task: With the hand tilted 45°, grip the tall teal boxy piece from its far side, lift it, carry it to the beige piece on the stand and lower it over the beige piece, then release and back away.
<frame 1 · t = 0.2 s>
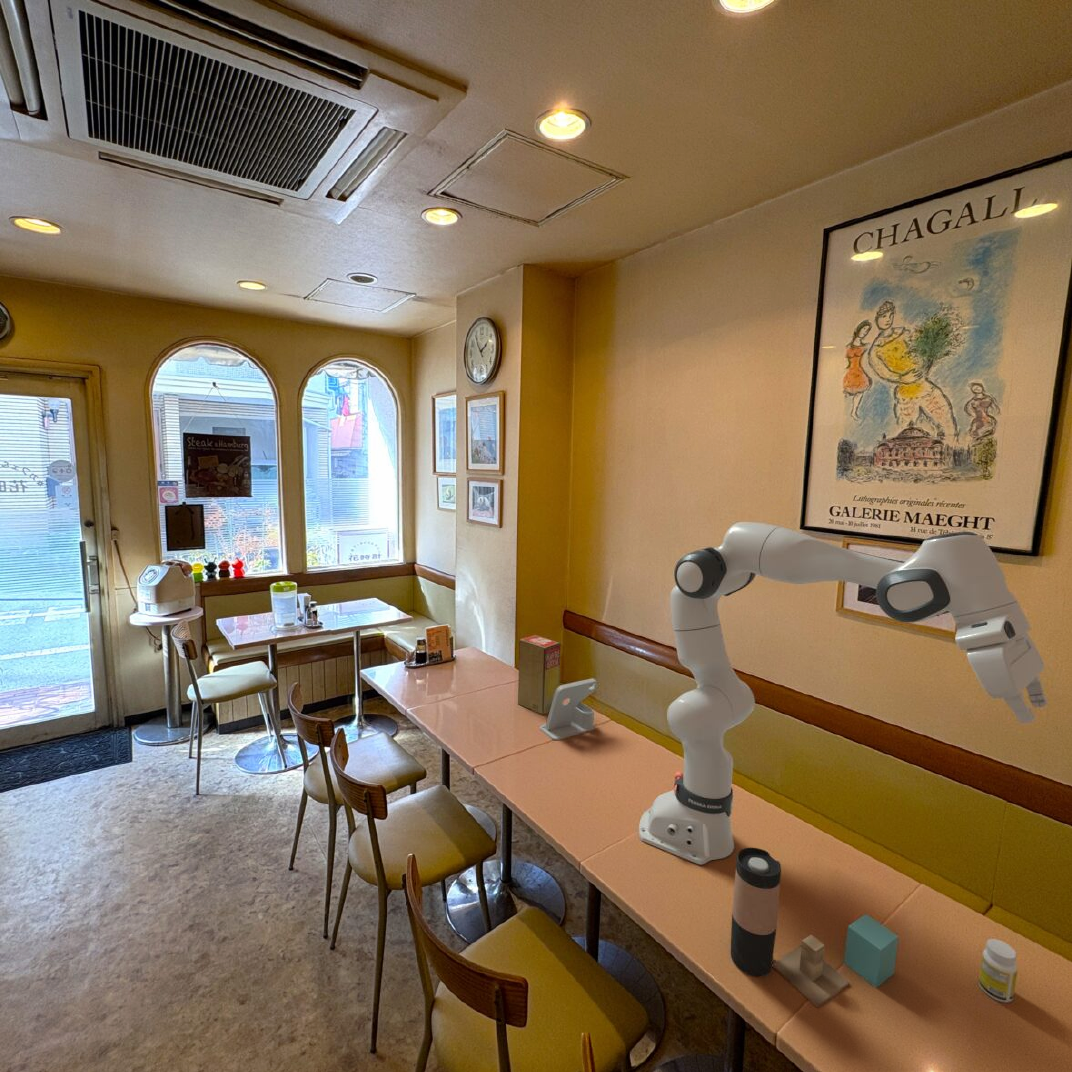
hand: (1034, 713, 87), 54 cm above the table, tool tilted 30°, fingers open, 8 cm apart
phone holder: (567, 729, 193), on the table
teal boxy piece: (868, 968, 104), on the table
food packaging: (538, 706, 210), on the table
travel mug: (750, 960, 105), on the table
beige piece: (810, 975, 102), on the table
supplement bottle: (995, 991, 100), on the table
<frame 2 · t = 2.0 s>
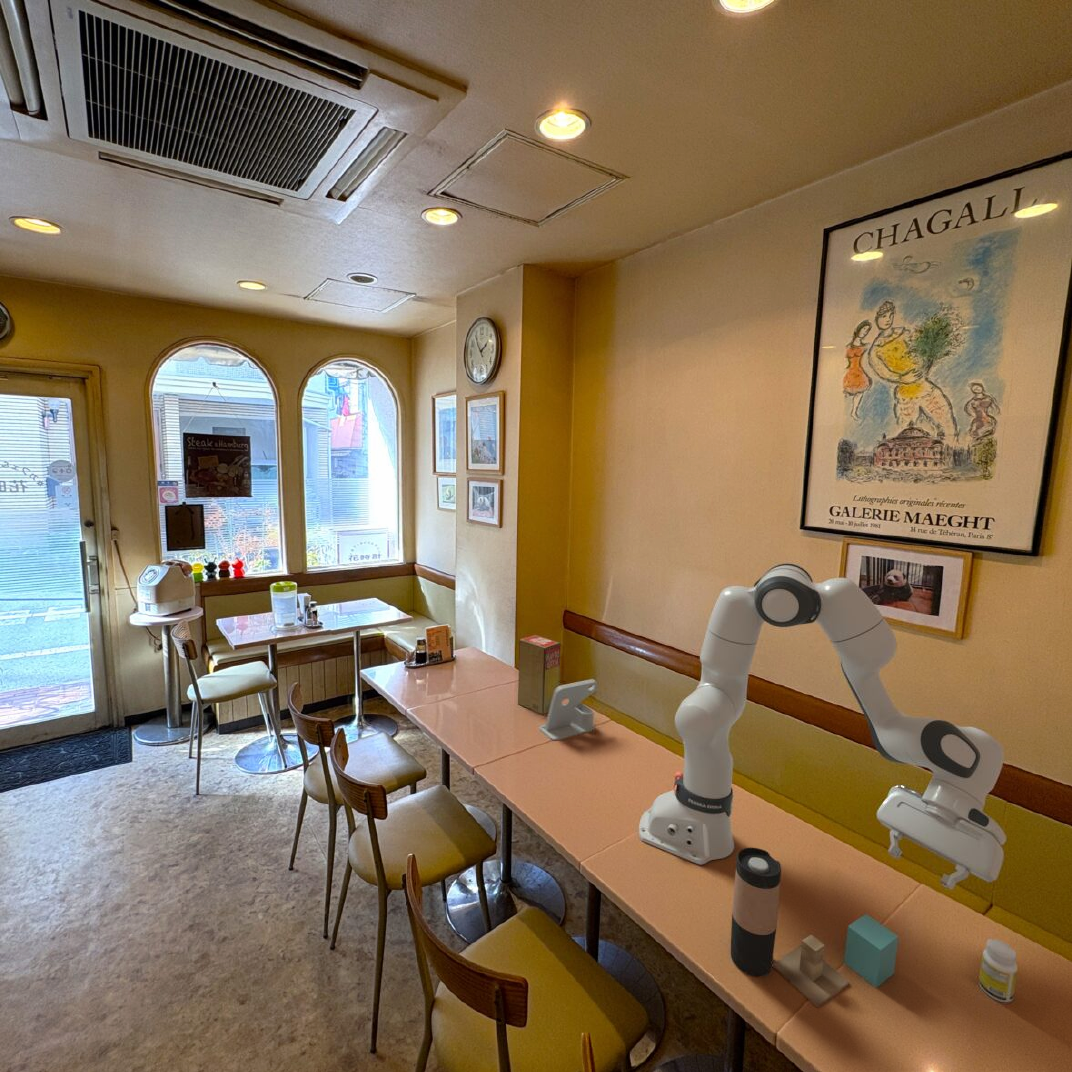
hand: (918, 870, 107), 15 cm above the table, tool tilted 45°, fingers open, 8 cm apart
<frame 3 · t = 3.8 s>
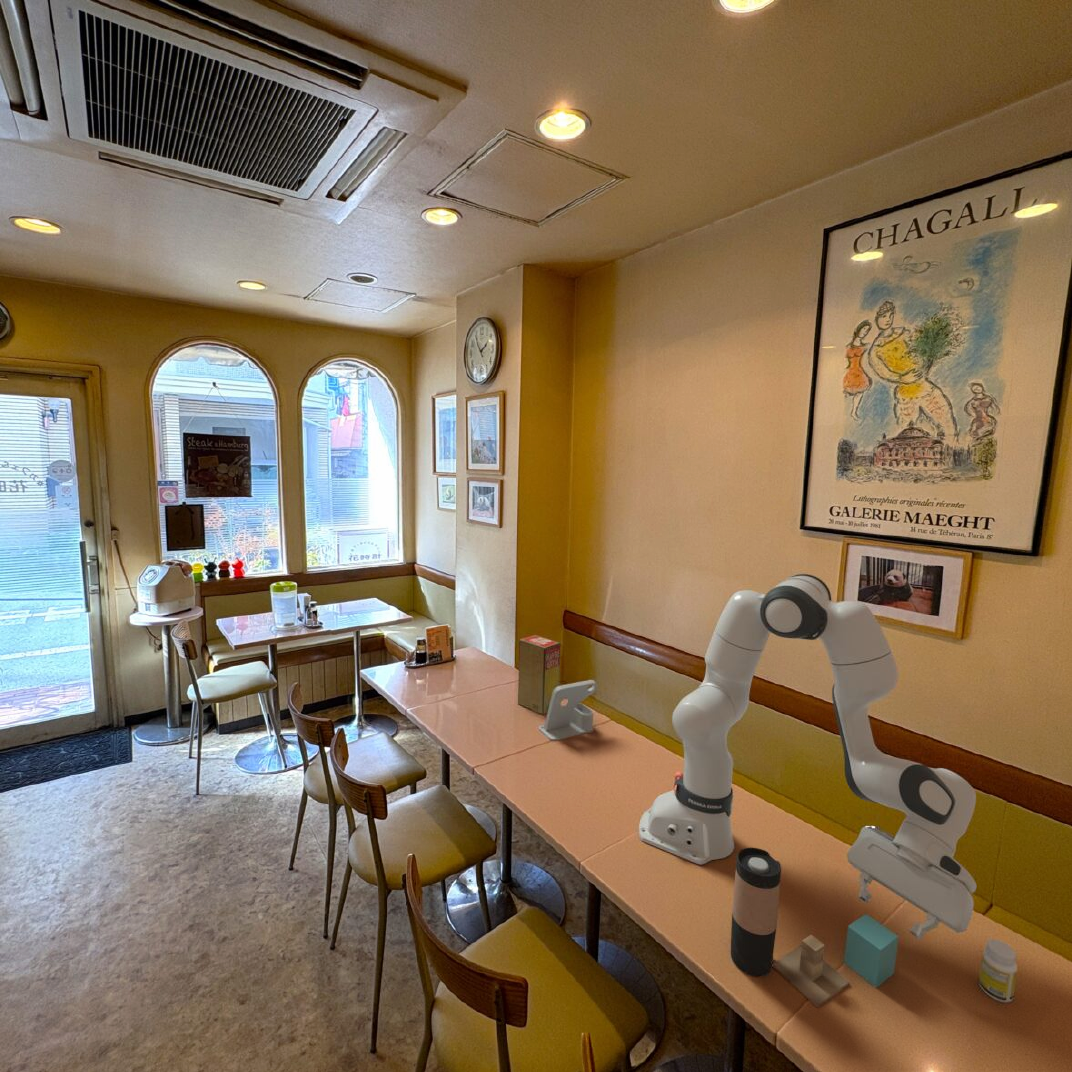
hand: (887, 917, 105), 8 cm above the table, tool tilted 45°, fingers open, 8 cm apart
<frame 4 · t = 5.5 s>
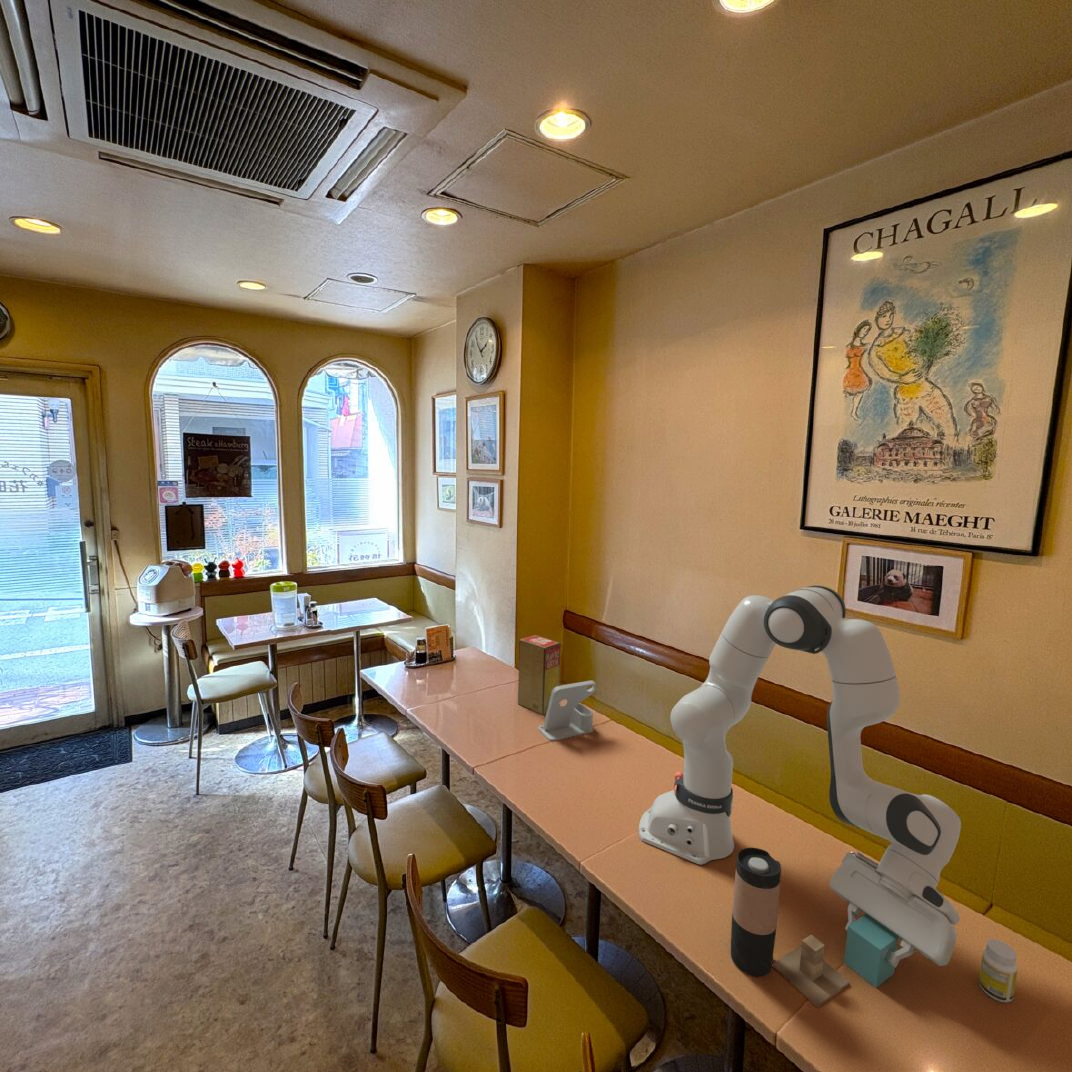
hand: (869, 948, 103), 4 cm above the table, tool tilted 45°, fingers closed on teal boxy piece, 6 cm apart
teal boxy piece: (868, 968, 104), on the table, touching gripper
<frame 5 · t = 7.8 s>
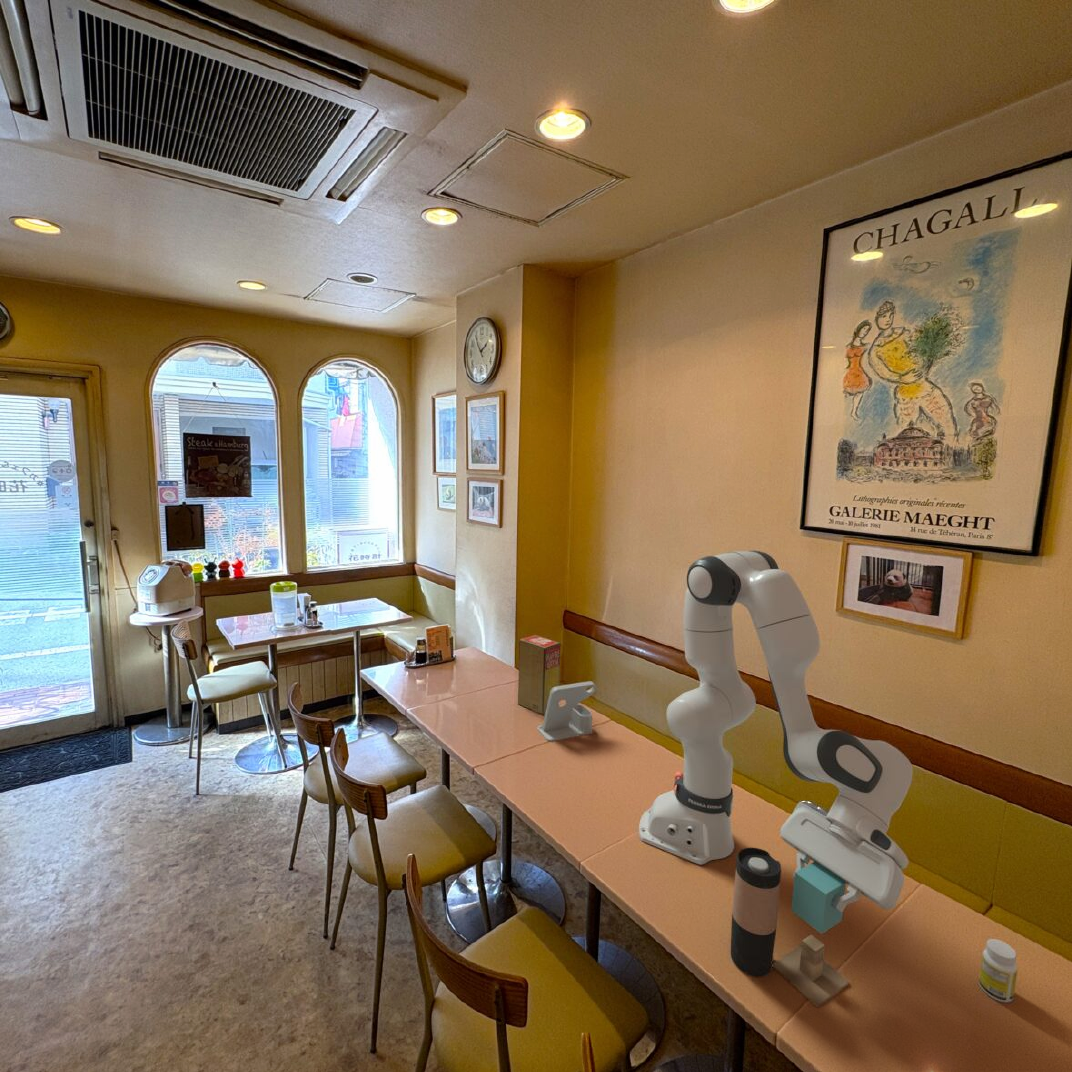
hand: (816, 894, 99), 16 cm above the table, tool tilted 45°, fingers closed on teal boxy piece, 6 cm apart
teal boxy piece: (816, 915, 100), point 12 cm above the table, touching gripper
when the fingers open (6 cm above the table, at t = 10.2 s): teal boxy piece drops 1 cm, resting on beige piece.
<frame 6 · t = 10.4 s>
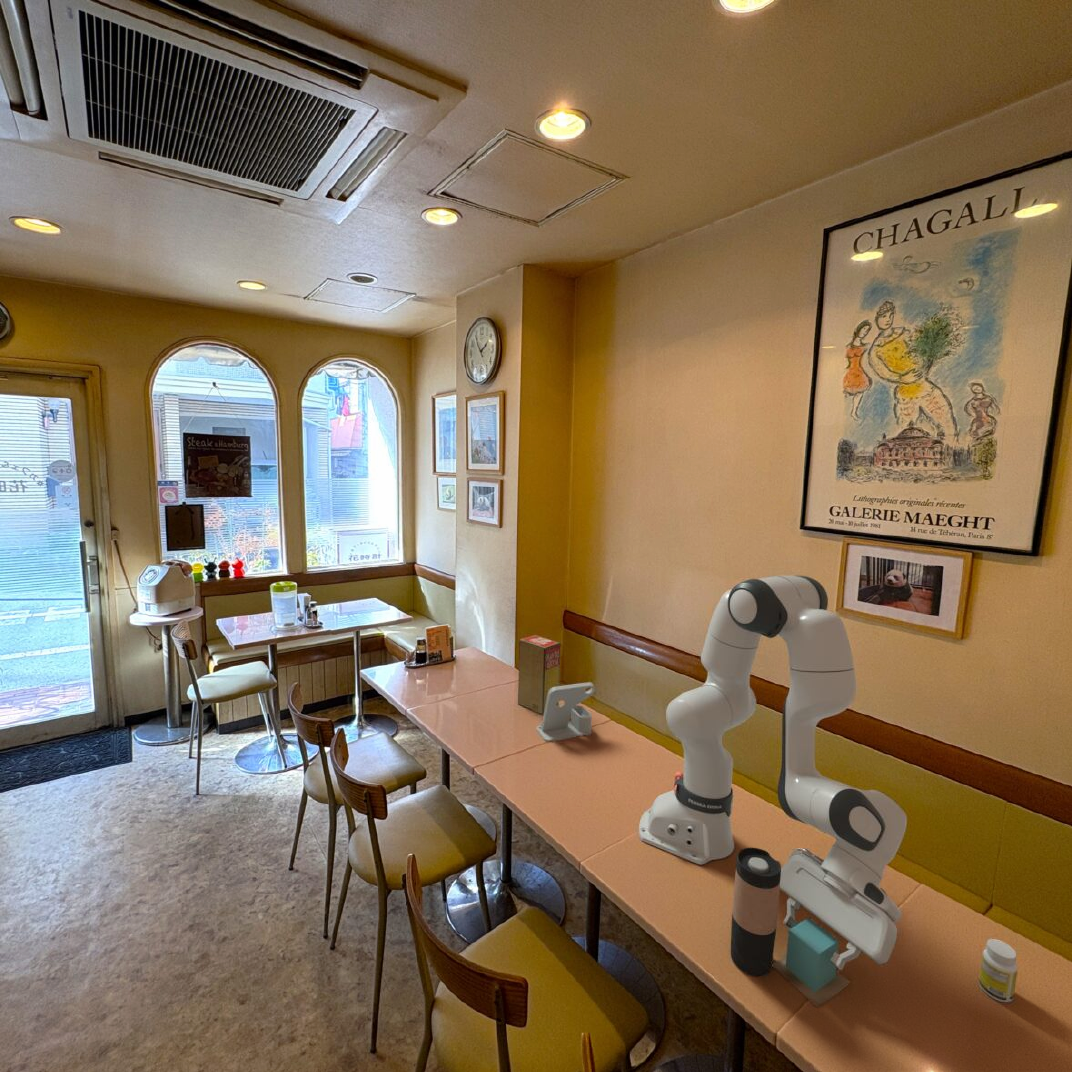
hand: (810, 945, 101), 6 cm above the table, tool tilted 45°, fingers open, 8 cm apart
teal boxy piece: (810, 972, 102), resting on beige piece
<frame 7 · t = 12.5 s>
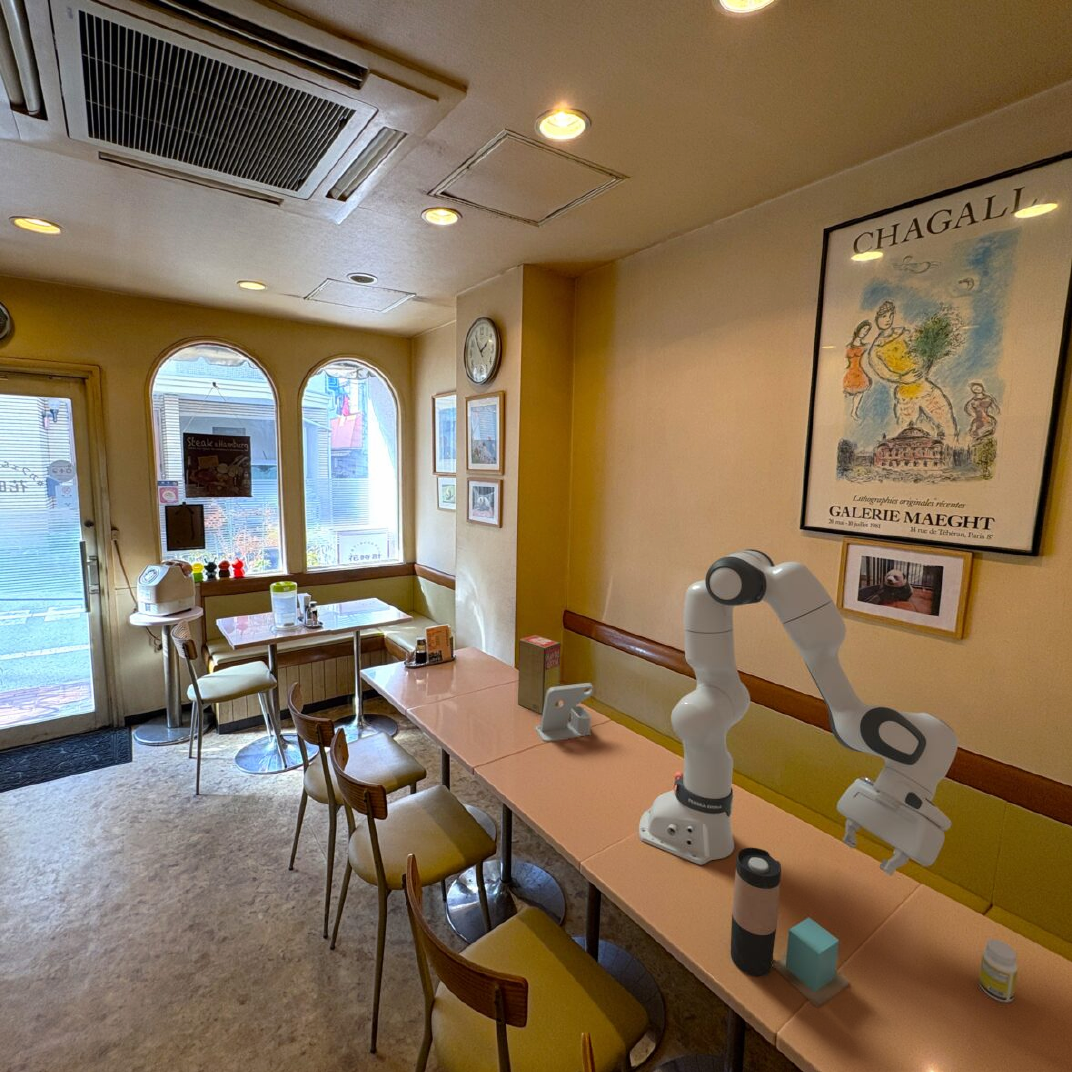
hand: (865, 858, 107), 17 cm above the table, tool tilted 35°, fingers open, 8 cm apart
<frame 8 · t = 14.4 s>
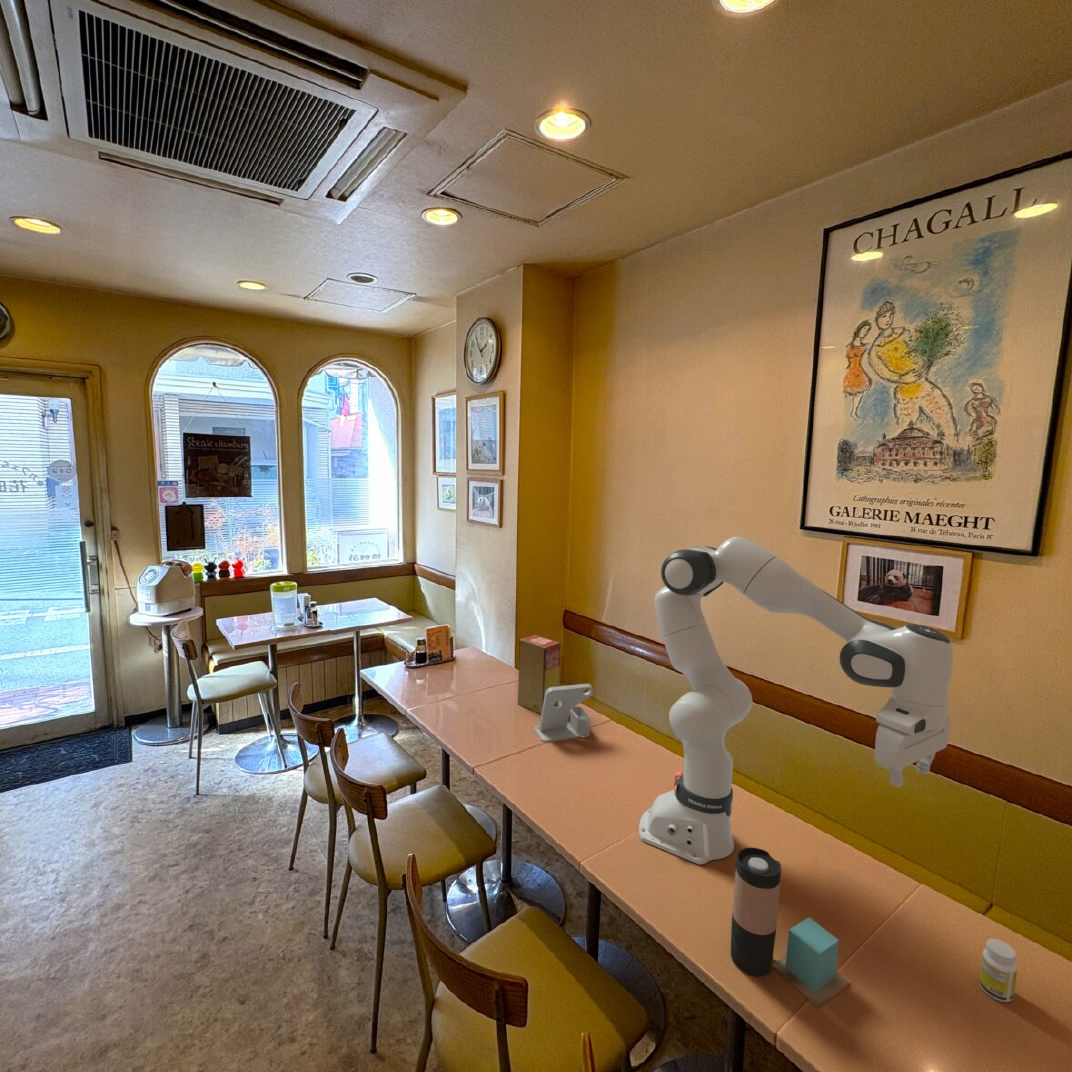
hand: (909, 778, 110), 31 cm above the table, tool pointing down, fingers open, 8 cm apart
at the end: teal boxy piece 0.1 cm from the beige piece (horizontally); teal boxy piece point 0.5 cm above the table; teal boxy piece tilted 0° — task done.
